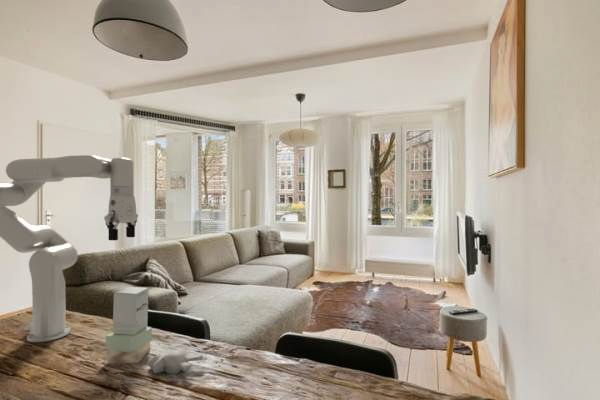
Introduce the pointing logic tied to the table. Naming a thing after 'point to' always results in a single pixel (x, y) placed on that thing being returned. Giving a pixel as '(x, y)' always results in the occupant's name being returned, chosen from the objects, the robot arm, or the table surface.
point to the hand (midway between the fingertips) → (122, 238)
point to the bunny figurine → (172, 361)
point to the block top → (128, 340)
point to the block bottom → (127, 355)
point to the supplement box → (130, 310)
